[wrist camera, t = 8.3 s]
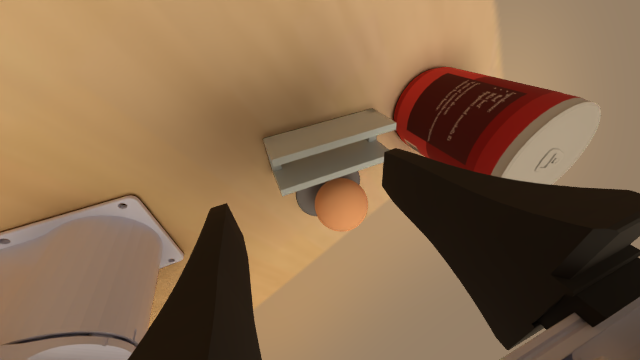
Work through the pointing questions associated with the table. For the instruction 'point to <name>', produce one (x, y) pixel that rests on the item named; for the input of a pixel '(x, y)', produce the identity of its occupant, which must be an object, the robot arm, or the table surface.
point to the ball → (341, 204)
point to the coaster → (309, 194)
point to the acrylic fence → (327, 150)
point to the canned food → (495, 124)
